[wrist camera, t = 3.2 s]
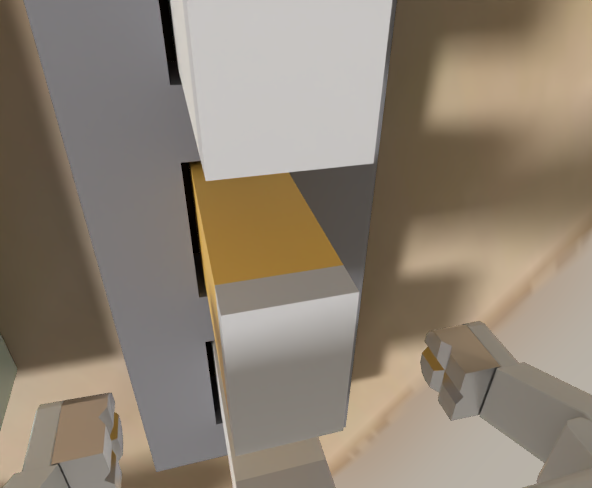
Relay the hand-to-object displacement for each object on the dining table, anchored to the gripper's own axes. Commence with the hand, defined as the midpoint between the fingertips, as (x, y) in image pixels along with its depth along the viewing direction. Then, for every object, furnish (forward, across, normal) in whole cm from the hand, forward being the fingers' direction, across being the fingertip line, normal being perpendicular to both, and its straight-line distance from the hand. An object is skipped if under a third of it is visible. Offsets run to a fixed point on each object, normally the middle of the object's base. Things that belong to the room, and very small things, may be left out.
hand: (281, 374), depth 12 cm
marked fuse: (+9, 0, -1) cm, 9 cm away
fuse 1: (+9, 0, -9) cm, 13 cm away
